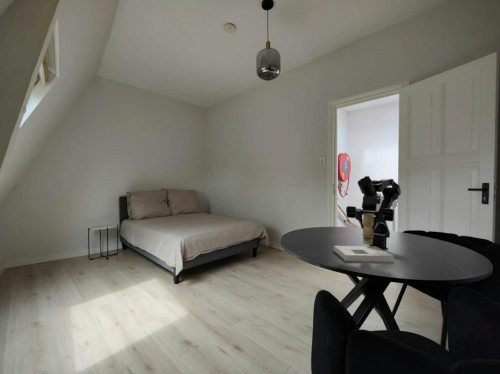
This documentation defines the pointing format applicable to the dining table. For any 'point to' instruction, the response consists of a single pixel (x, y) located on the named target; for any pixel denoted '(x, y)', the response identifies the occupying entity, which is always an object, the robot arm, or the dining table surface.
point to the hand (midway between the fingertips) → (367, 228)
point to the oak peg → (368, 228)
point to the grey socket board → (363, 253)
